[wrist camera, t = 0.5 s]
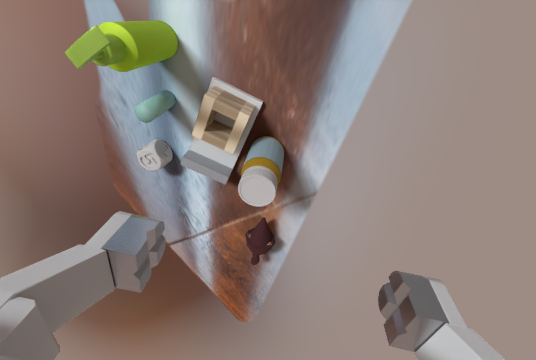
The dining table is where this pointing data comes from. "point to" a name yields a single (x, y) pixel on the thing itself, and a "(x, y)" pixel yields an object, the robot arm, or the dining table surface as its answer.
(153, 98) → the dowel
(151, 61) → the soap dispenser
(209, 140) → the block
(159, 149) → the die
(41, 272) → the robot arm
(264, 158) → the bottle
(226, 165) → the grey l-shaped tray
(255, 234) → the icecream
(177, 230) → the dining table surface
